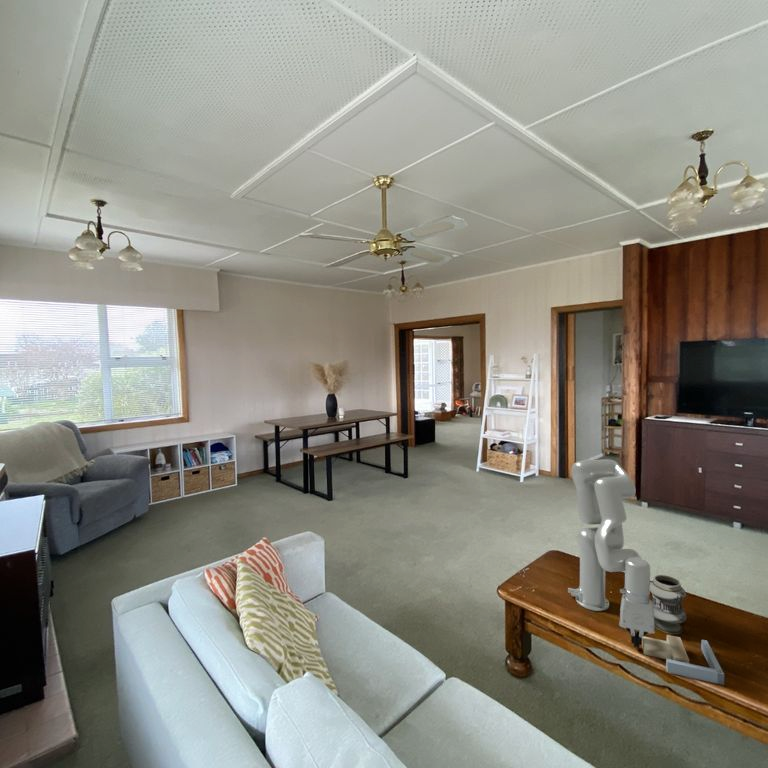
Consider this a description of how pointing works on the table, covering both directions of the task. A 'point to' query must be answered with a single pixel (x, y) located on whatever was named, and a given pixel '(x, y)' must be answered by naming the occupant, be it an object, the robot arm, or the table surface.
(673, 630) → the apothecary jar
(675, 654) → the t block
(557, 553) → the table surface
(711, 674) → the fence
